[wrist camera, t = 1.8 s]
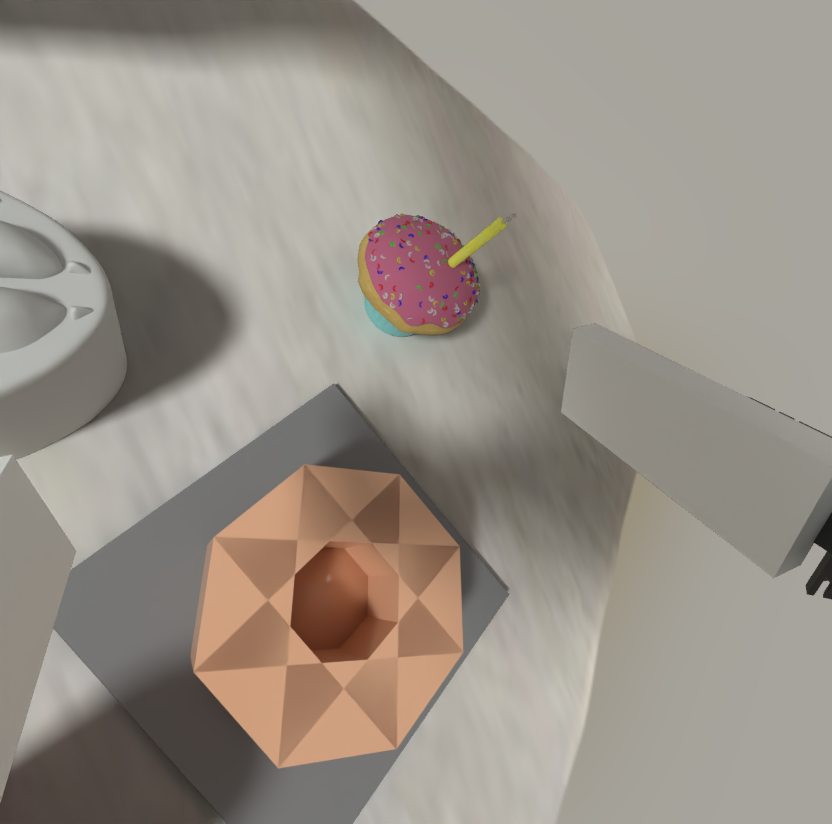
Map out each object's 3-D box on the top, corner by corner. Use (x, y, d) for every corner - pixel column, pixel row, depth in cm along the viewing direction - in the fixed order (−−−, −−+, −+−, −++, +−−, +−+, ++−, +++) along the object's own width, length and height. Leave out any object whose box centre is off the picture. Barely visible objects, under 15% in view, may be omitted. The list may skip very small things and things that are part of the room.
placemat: (31, 599, 20) (28, 600, 20) (331, 386, 30) (333, 383, 29) (296, 896, 21) (298, 902, 20) (504, 594, 31) (509, 594, 30)
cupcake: (451, 292, 37) (553, 184, 27) (431, 380, 34) (540, 292, 24) (355, 241, 35) (428, 100, 25) (321, 330, 31) (392, 207, 21)
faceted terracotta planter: (140, 599, 21) (132, 602, 17) (329, 446, 28) (356, 422, 24) (306, 787, 22) (337, 835, 18) (453, 594, 28) (501, 596, 24)
